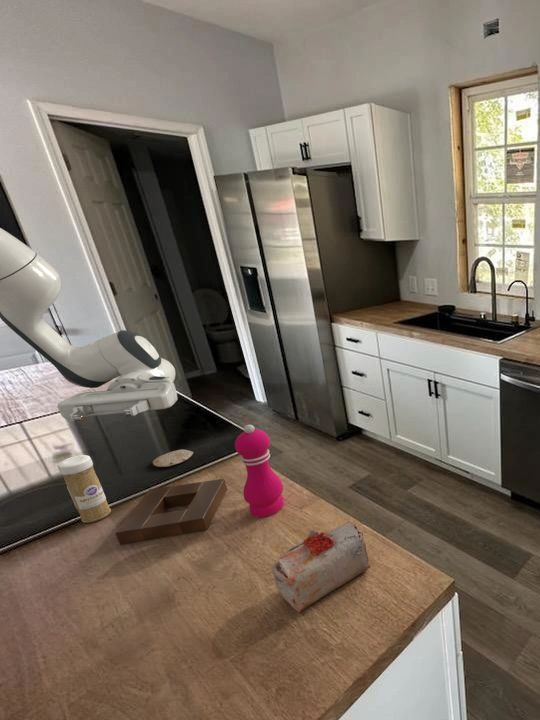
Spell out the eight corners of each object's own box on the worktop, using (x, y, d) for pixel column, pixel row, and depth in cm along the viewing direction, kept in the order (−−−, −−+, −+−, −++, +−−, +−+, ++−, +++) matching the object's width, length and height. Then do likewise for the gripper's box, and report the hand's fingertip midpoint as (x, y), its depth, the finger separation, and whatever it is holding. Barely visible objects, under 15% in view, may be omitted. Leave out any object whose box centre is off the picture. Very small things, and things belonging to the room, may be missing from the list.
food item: (294, 622, 64) (283, 574, 60) (274, 592, 68) (263, 546, 65) (374, 572, 73) (368, 527, 69) (351, 549, 78) (345, 506, 74)
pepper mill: (251, 501, 90) (231, 419, 83) (288, 494, 93) (271, 415, 85) (244, 522, 84) (222, 436, 77) (284, 514, 86) (266, 430, 79)
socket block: (120, 545, 77) (114, 532, 76) (153, 500, 90) (149, 489, 89) (207, 530, 82) (203, 518, 81) (227, 489, 94) (224, 478, 93)
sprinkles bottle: (95, 524, 82) (71, 467, 77) (75, 522, 83) (49, 465, 78) (118, 510, 87) (96, 454, 82) (98, 508, 87) (75, 453, 82)
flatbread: (159, 472, 99) (157, 468, 99) (149, 461, 104) (148, 457, 103) (198, 458, 106) (197, 454, 105) (187, 448, 110) (186, 445, 109)
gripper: (75, 384, 97) (34, 408, 85) (178, 376, 103) (153, 397, 91) (85, 408, 99) (46, 435, 87) (185, 399, 105) (162, 422, 93)
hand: (102, 415), depth 89 cm, fingers open, 8 cm apart
